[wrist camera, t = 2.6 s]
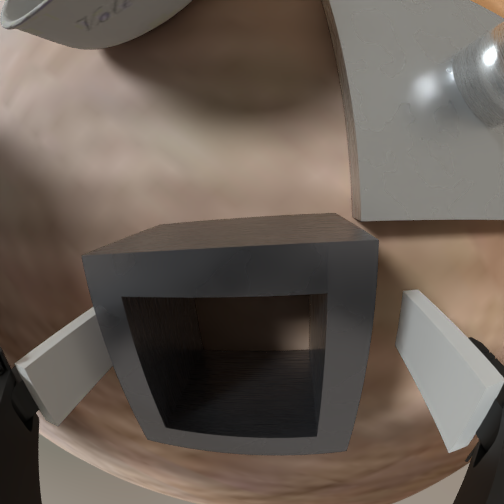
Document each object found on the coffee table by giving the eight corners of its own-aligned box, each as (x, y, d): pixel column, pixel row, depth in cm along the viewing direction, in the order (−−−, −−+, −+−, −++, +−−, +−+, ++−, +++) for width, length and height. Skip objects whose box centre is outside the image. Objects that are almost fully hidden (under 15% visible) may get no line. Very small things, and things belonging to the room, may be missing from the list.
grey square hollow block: (186, 366, 15) (147, 439, 9) (159, 224, 13) (81, 255, 7) (331, 366, 14) (346, 450, 8) (335, 212, 12) (378, 239, 6)
